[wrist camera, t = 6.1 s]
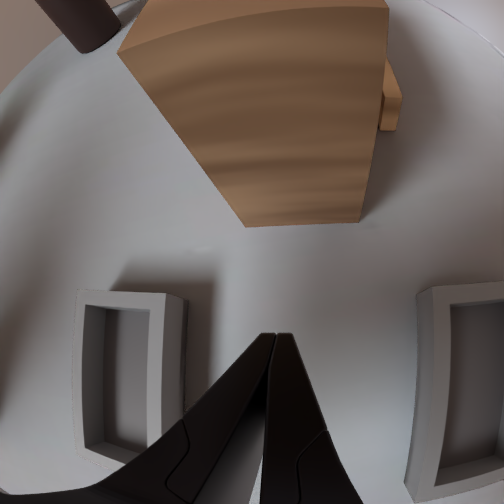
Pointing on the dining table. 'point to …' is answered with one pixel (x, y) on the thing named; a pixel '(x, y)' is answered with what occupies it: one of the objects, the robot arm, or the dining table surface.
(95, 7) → the bottle
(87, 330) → the grey rectangular tray
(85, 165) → the dining table surface
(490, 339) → the tray
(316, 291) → the dining table surface
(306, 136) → the walnut block
